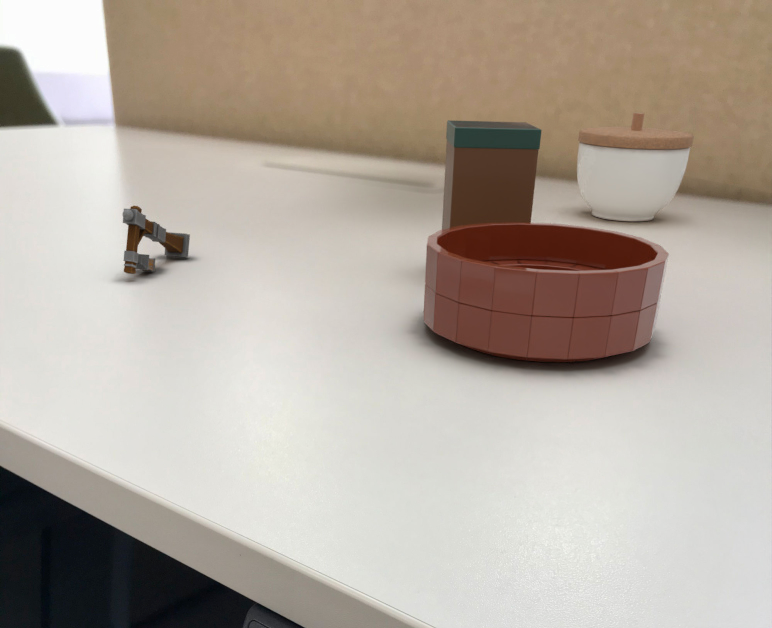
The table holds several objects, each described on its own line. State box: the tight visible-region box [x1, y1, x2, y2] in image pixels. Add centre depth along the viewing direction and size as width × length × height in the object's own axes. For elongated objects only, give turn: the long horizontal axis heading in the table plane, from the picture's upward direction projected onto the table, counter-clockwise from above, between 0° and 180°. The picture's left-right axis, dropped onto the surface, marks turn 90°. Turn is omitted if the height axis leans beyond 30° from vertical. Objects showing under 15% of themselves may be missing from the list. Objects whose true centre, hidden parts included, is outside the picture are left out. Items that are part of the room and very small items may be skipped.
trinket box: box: [576, 112, 694, 222], centre depth 80 cm, size 11×11×9 cm
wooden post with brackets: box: [122, 205, 191, 275], centre depth 59 cm, size 2×8×4 cm, turn 167°
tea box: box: [441, 119, 542, 230], centre depth 57 cm, size 6×6×10 cm
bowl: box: [422, 222, 670, 363], centre depth 47 cm, size 13×13×5 cm
